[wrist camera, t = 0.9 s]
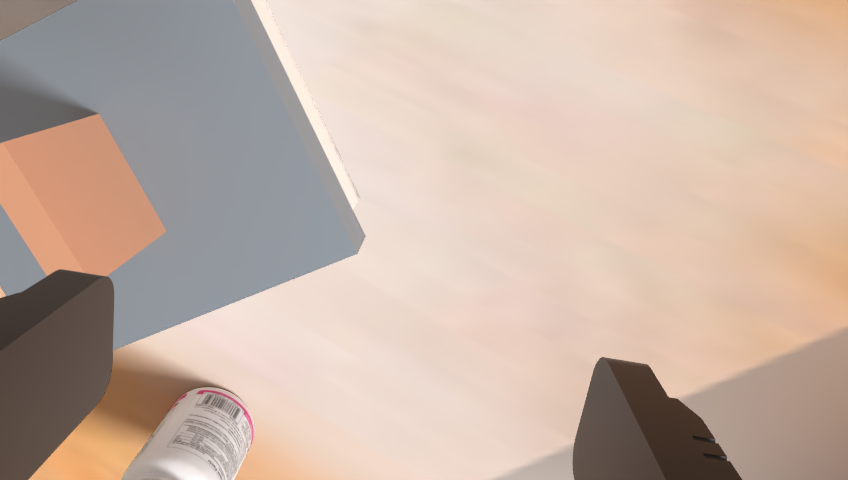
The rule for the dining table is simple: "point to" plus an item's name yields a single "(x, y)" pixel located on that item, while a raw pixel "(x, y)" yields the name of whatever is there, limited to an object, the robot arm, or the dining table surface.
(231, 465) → the pill bottle
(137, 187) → the lid
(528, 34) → the dining table surface
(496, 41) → the dining table surface
